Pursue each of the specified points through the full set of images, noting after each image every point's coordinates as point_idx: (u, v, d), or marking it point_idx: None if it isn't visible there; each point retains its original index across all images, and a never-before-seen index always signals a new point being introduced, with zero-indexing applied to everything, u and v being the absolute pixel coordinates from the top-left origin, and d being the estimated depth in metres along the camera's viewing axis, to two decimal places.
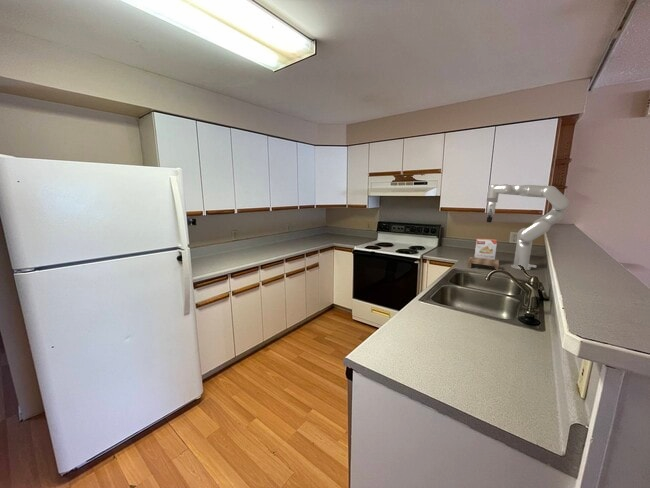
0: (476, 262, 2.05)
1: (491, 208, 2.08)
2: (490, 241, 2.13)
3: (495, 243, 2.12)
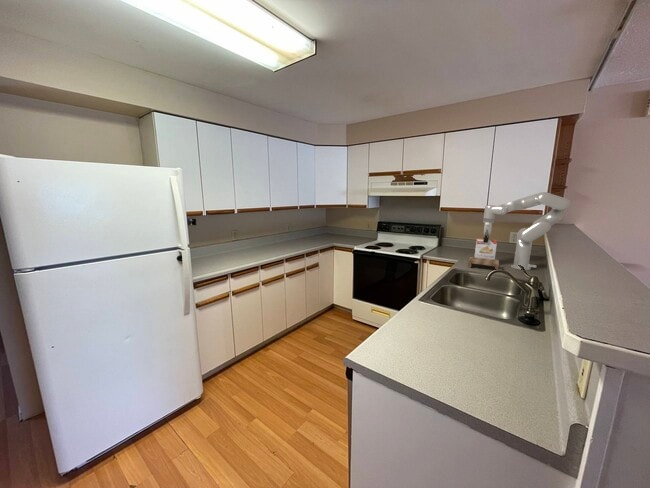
0: (476, 262, 2.05)
1: (487, 228, 2.10)
2: (490, 241, 2.13)
3: (495, 243, 2.12)
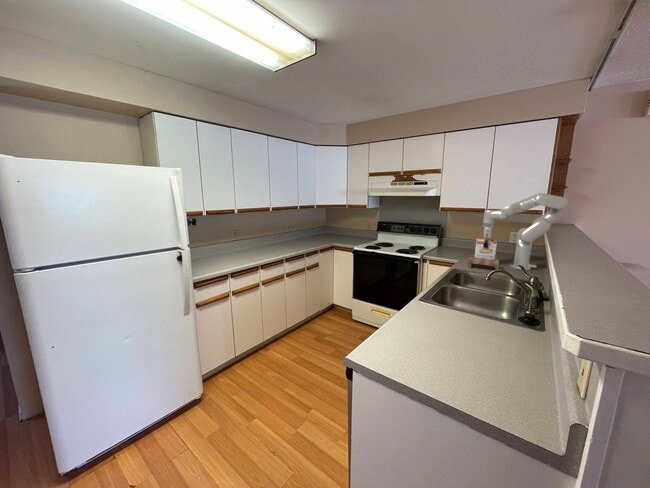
0: (476, 262, 2.05)
1: (487, 233, 2.11)
2: (490, 241, 2.13)
3: (495, 243, 2.12)
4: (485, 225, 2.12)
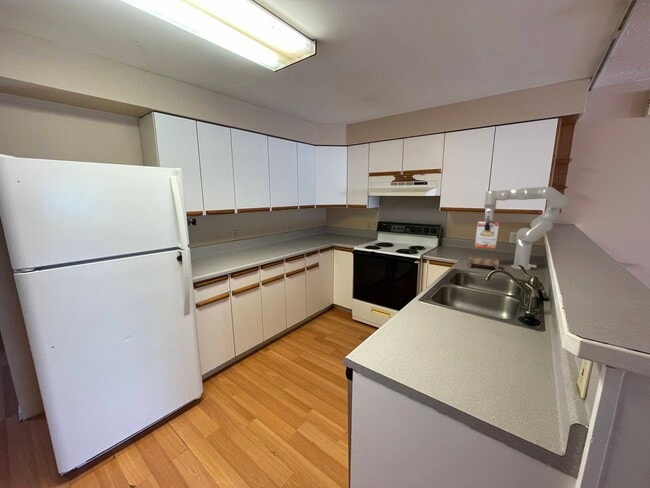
0: (476, 262, 2.05)
1: (489, 215, 2.03)
2: (492, 223, 2.05)
3: (497, 225, 2.04)
4: (486, 206, 2.04)
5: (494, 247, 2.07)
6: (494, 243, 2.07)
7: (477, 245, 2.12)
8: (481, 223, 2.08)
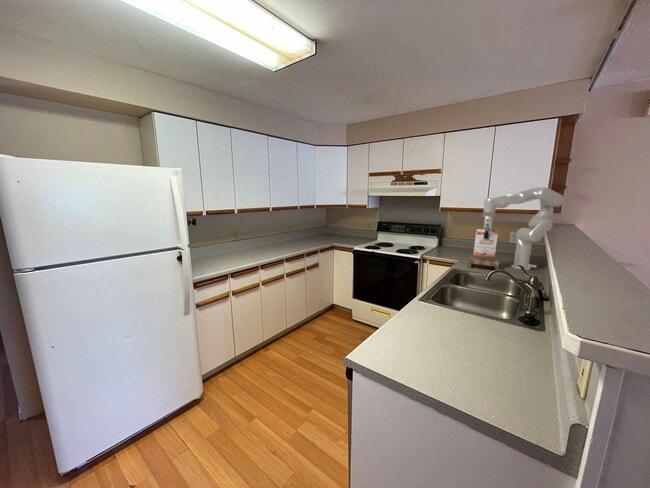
0: (476, 262, 2.05)
1: (488, 223, 1.99)
2: (491, 231, 2.01)
3: (496, 233, 2.00)
4: (486, 214, 2.00)
5: (493, 255, 2.03)
6: (493, 251, 2.03)
7: (476, 253, 2.07)
8: (480, 231, 2.03)
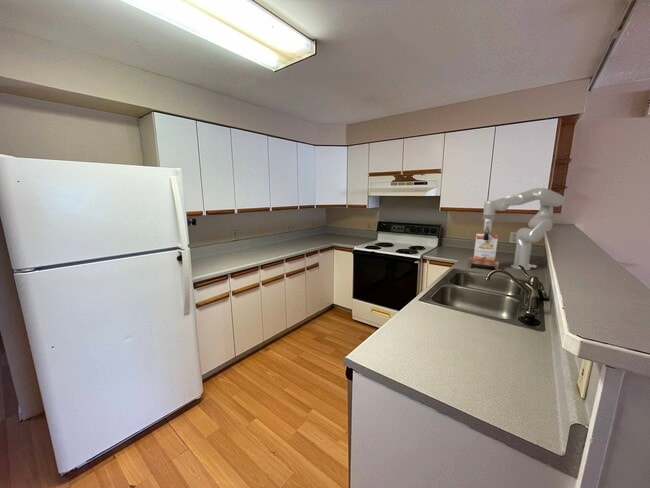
0: (476, 262, 2.05)
1: (488, 225, 1.99)
2: (490, 236, 2.01)
3: (496, 238, 2.00)
4: (485, 217, 2.00)
5: (493, 260, 2.03)
6: (493, 256, 2.03)
7: (476, 258, 2.08)
8: (480, 235, 2.04)
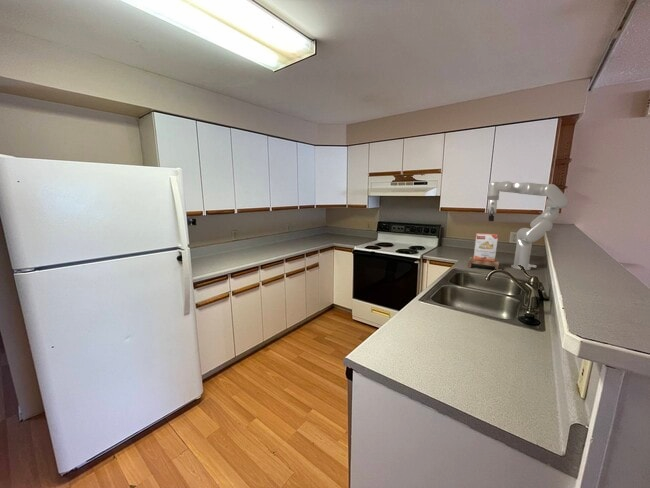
0: (476, 262, 2.05)
1: (493, 206, 2.01)
2: (490, 236, 2.01)
3: (496, 238, 2.00)
4: (490, 198, 2.02)
5: (493, 260, 2.03)
6: (493, 256, 2.03)
7: (476, 258, 2.08)
8: (480, 235, 2.04)
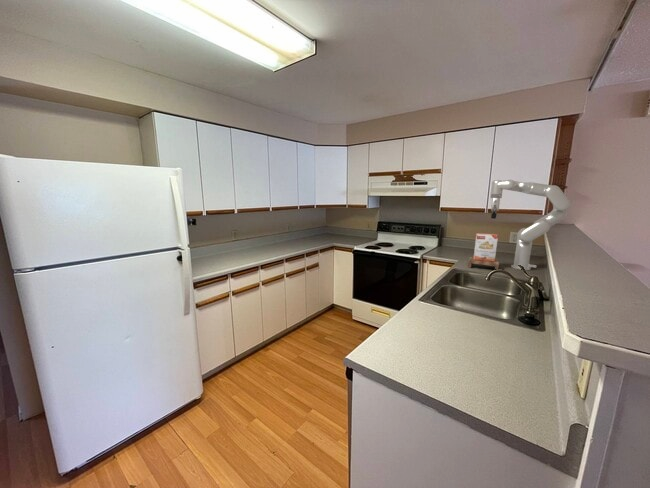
0: (476, 262, 2.05)
1: (495, 204, 2.07)
2: (490, 236, 2.01)
3: (496, 238, 2.00)
4: (493, 196, 2.08)
5: (493, 260, 2.03)
6: (493, 256, 2.03)
7: (476, 258, 2.08)
8: (480, 235, 2.04)
